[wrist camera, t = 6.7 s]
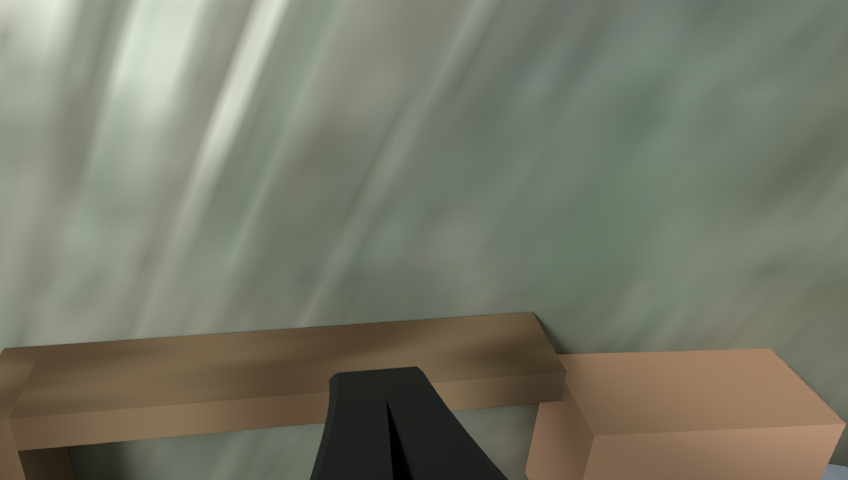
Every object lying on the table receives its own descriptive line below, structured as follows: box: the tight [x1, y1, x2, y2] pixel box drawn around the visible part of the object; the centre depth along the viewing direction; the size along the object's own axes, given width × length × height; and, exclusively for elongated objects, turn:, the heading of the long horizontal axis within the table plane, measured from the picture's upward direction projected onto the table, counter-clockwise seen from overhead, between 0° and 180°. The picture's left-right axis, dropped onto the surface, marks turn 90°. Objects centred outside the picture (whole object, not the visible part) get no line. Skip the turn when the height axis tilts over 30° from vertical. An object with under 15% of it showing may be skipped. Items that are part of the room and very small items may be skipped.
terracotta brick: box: [525, 349, 846, 480], centre depth 24 cm, size 8×5×4 cm, turn 84°
